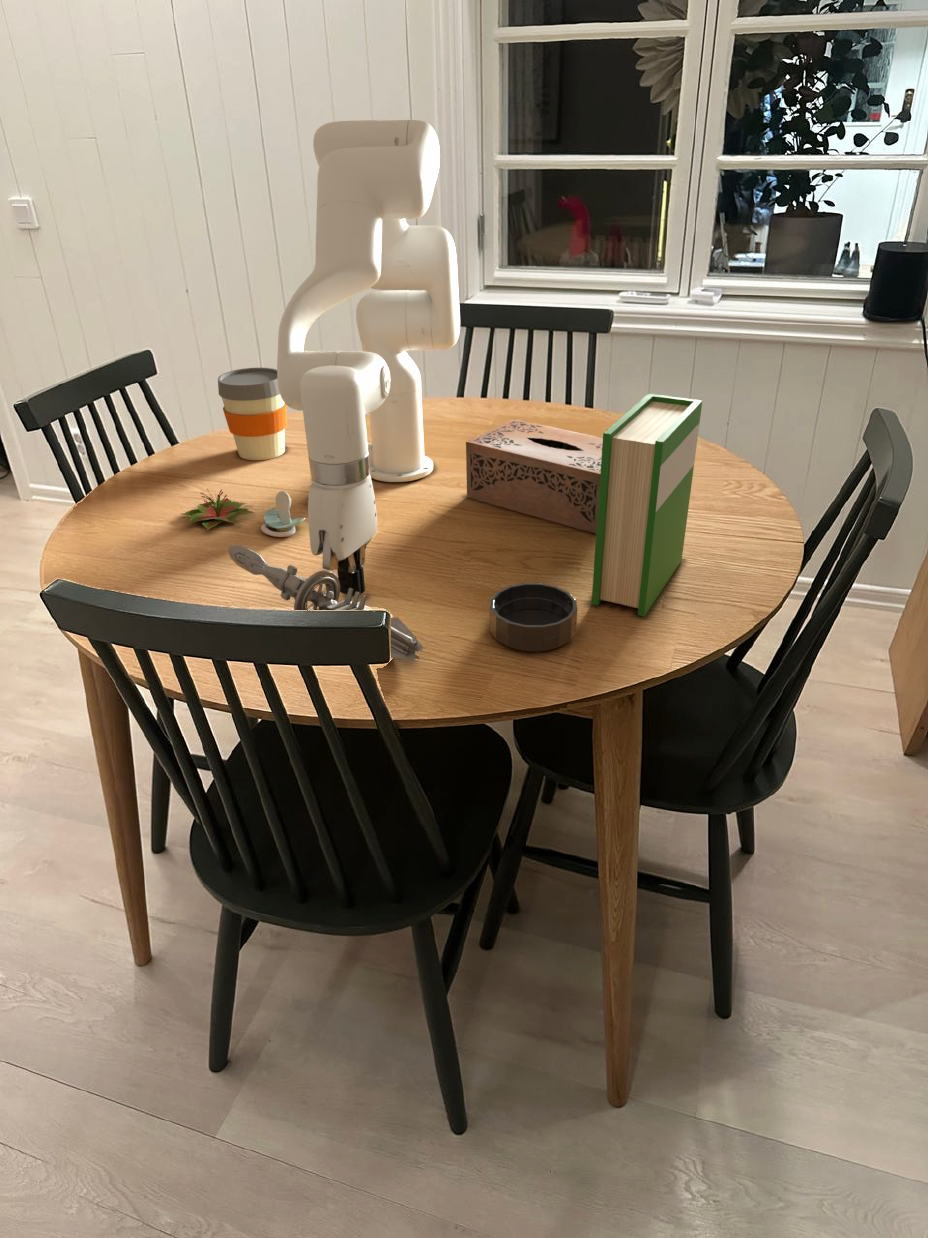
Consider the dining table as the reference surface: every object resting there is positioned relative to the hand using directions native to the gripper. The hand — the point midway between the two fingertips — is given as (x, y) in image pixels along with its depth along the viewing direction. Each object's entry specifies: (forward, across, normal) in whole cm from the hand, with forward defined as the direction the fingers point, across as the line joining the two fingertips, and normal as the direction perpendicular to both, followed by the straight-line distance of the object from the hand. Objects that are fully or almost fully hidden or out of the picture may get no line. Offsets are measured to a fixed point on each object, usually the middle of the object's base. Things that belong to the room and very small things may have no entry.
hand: (352, 592), depth 117 cm
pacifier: (+1, -14, -22) cm, 26 cm away
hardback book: (+1, -20, +35) cm, 40 cm away
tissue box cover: (+1, -42, +14) cm, 44 cm away
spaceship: (+1, +8, 0) cm, 8 cm away
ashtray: (+1, -2, +26) cm, 26 cm away
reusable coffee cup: (+1, -42, -47) cm, 63 cm away
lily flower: (+1, -14, -35) cm, 38 cm away
